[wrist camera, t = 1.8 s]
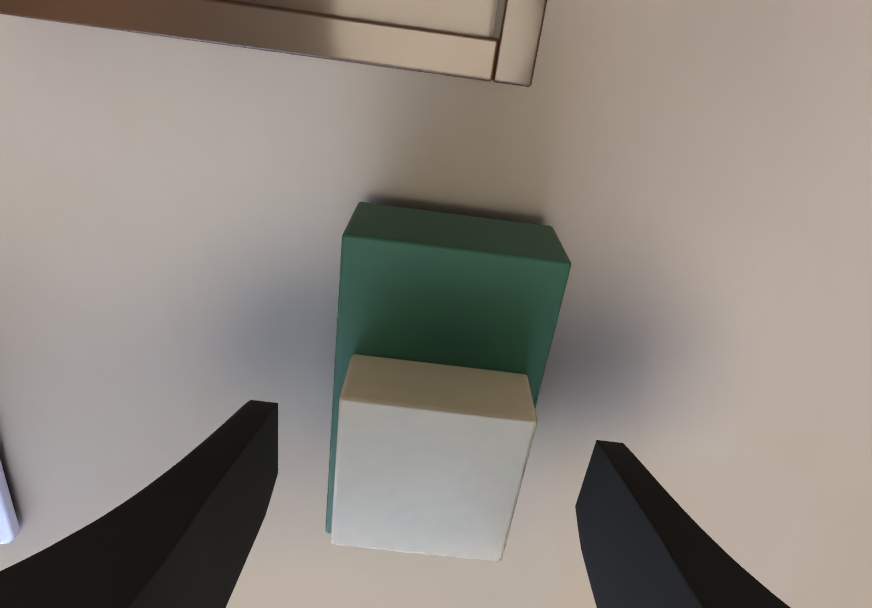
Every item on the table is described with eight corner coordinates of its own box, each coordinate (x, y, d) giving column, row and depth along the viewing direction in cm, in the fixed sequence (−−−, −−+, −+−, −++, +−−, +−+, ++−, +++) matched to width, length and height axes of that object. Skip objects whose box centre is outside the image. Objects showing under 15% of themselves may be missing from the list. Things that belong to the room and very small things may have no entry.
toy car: (491, 468, 19) (505, 610, 15) (344, 452, 19) (311, 590, 14) (547, 214, 15) (591, 299, 11) (363, 191, 15) (325, 266, 10)
